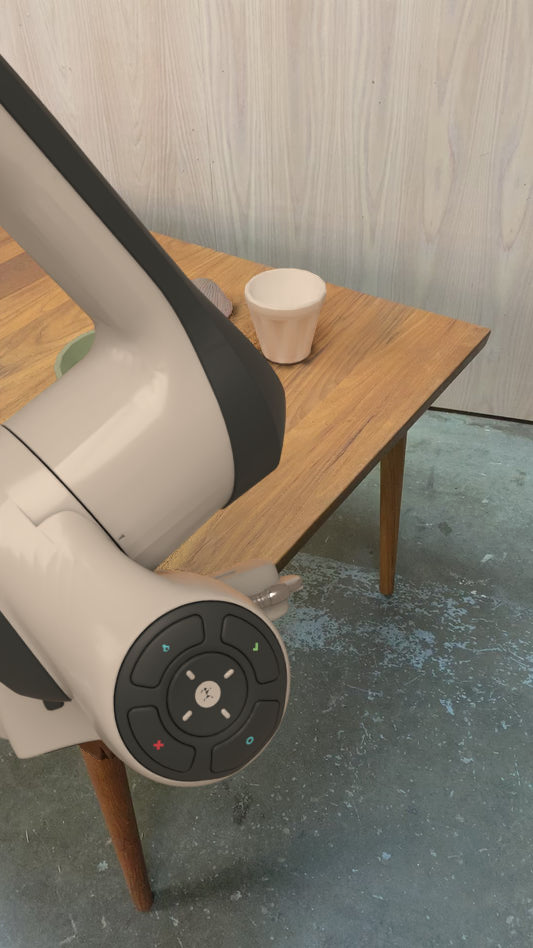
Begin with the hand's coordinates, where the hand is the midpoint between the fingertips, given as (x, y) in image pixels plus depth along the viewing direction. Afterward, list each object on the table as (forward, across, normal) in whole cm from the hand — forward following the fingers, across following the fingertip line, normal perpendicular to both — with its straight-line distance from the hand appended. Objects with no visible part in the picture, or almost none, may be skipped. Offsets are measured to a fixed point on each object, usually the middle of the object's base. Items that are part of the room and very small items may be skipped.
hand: (124, 625), depth 57 cm
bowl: (+34, -12, -21) cm, 42 cm away
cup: (+35, -33, -21) cm, 52 cm away
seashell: (+45, -26, -31) cm, 61 cm away
